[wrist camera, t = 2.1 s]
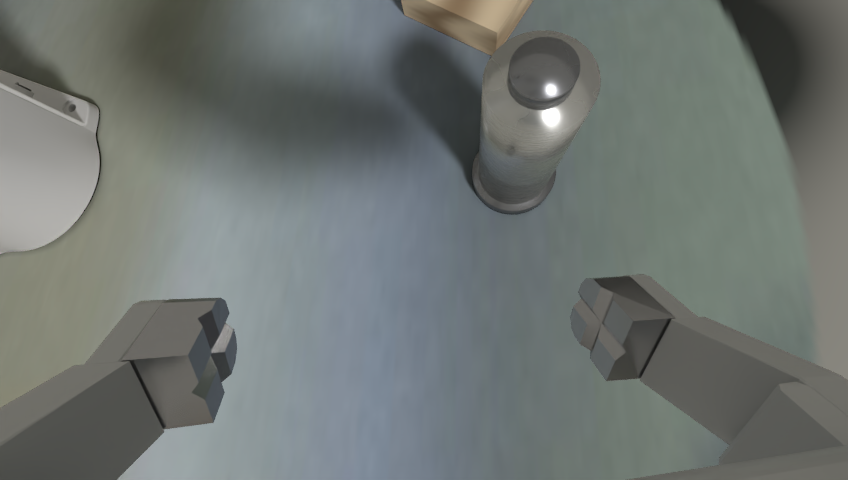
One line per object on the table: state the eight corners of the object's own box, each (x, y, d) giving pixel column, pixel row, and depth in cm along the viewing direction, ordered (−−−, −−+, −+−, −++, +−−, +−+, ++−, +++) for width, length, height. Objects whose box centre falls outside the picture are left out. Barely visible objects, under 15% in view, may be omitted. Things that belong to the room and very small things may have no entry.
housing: (457, 189, 31) (446, 93, 17) (497, 127, 31) (517, -14, 18) (526, 229, 29) (573, 158, 16) (567, 162, 30) (646, 39, 16)
